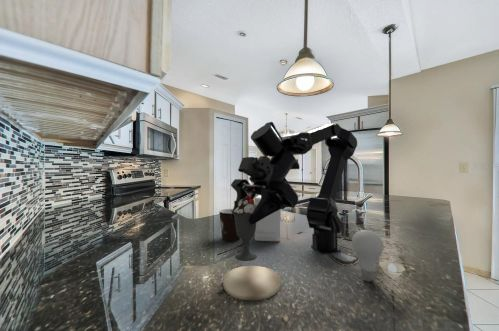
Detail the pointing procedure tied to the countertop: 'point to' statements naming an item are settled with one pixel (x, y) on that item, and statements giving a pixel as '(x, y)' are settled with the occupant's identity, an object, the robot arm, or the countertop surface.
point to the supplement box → (268, 226)
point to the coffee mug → (228, 226)
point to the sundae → (244, 226)
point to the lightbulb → (367, 252)
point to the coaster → (251, 282)
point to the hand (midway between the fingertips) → (240, 220)
